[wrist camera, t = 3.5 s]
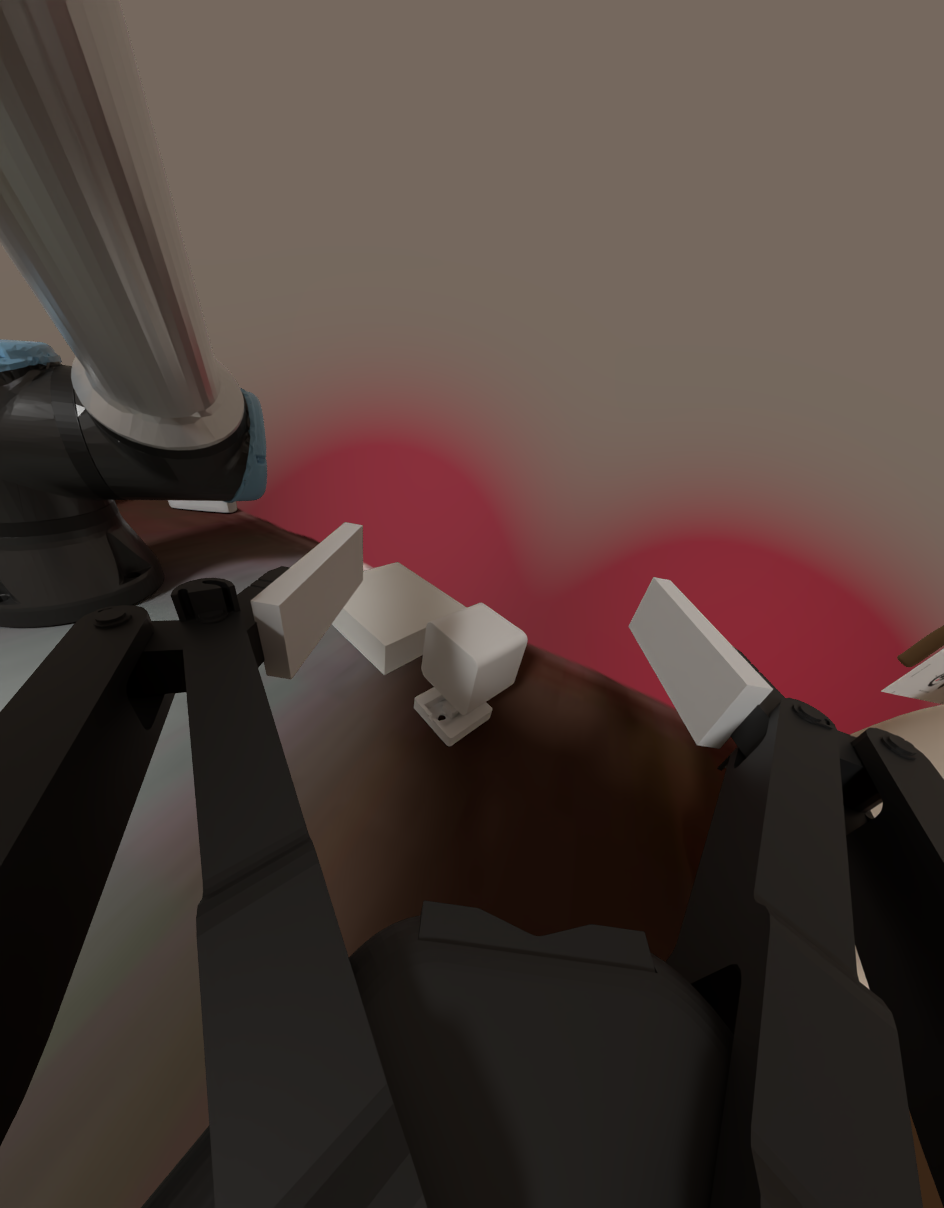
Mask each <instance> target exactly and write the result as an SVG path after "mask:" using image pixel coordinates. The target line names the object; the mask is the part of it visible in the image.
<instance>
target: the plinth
mask: <svg viewBox="0 0 944 1208" xmlns="http://www.w3.org/2000/svg"><path fill="white" fill-rule="evenodd" d="M465 608H467V607H465V606H464V605H462V604H461V603H459V602H458V601H456V600H454V599H453V598H452V597H450V596H449V595H447V594H445V593H444V592H442V591H441V590H439V589H438V588H436V587H435V586H433V585H432V584H430V583H429V582H427V581H425V580H424V579H423V578H421V577H420V576H418V575H417V574H415V573H414V572H412V571H410V570H409V569H408V568H406V567H405V566H403V565H402V564H400V563H399V562H396V563H392V564H389V565H385V566H381V567H377V568H373V569H370V570H366V571H363V581H362V583H361V584H360V585H359V587H358V588H357V590H356V591H355V592H354V594H353V595H352V597H351V598H350V599H349V601H348V602H347V603H346V605H345V606H344V608H343V609H342V610H341V612H340V613H339V614H338V616H337V617H336V619H335V620H334V621H333V623H332V625H333V626H334V627H335V628H336V629H337V630H338V631H339V632H340V633H341V634H342V635H343V636H344V637H345V638H346V639H347V640H348V641H349V642H350V643H352V644H353V645H354V646H355V647H356V648H357V649H358V650H359V651H360V652H361V653H362V654H363V655H364V656H365V657H366V658H367V659H368V660H369V661H370V662H371V663H372V664H373V665H374V666H375V667H376V668H377V669H378V670H379V671H380V672H381V673H382V674H384V675H386V674H388V673H390V672H392V671H393V670H395V669H397V668H399V667H401V666H403V665H405V664H407V663H409V662H410V661H412V660H414V659H416V658H418V657H420V656H422V655H423V650H424V641H425V633H426V625H427V623H428V622H431V621H433V620H436V619H439V618H441V617H444V616H446V615H449V614H452V613H454V612H457V611H460V610H462V609H465Z"/></svg>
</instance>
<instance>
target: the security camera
mask: <svg viewBox="0 0 944 1208" xmlns="http://www.w3.org/2000/svg"><path fill="white" fill-rule="evenodd" d="M527 641H528V640H527V636H526V634H525V633H524V632H523V631H522V630H520V629H519V628H518V627H516V626H515V625H513V624H512V623H510V622H509V621H507V620H506V619H505V618H503V617H502V616H500V615H499V614H497V613H496V612H495V611H493V610H492V609H491V608H489V607H487V606H486V605H485V604H483V603H478V604H476V605H473V606H470V607H468V608H465V609H462V610H460V611H457V612H454V613H452V614H449V615H446V616H444V617H441V618H439V619H436V620H433V621H431V622H428V623H427V625H426V633H425V641H424V650H423V658H422V666H421V670H422V673H423V675H424V677H425V678H426V679H427V680H428V681H429V682H430V683H431V684H432V685H433V686H434V687H433V688H431V689H429V690H428V691H426V692H424V693H422V694H420V695H418V696H416V697H415V701H414V709H415V710H416V711H417V712H418V713H419V715H420V716H421V717H422V718H423V719H424V720H425V721H426V722H427V724H428V725H429V726H430V727H431V728H432V729H433V730H434V732H435V733H436V734H437V735H438V736H439V737H440V738H441V740H442V741H443V742H444V743H445V744H446V745H447V746H452V745H453V744H455V743H456V742H457V741H459V740H460V739H462V738H463V737H464V736H466V735H467V734H469V733H470V732H471V731H473V730H474V729H476V728H477V727H478V726H480V725H481V724H483V723H484V722H486V721H487V720H488V719H490V716H491V712H492V707H491V706H490V705H489V704H487V703H486V701H488V700H489V699H491V698H492V697H494V696H496V695H497V694H499V693H500V692H502V691H503V690H505V689H506V688H508V687H509V686H511V685H512V684H513V683H514V681H515V678H516V675H517V672H518V669H519V666H520V663H521V660H522V657H523V654H524V651H525V648H526V645H527ZM440 715H443V716H445V717H446V719H445V720H440V721H439V720H438V717H439V716H440Z"/></svg>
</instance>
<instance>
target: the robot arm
mask: <svg viewBox="0 0 944 1208" xmlns="http://www.w3.org/2000/svg"><path fill="white" fill-rule="evenodd" d="M0 244H1V245H2V247H3V248H4V250H5V251H6V253H7V254H8V256H9V257H10V259H11V260H12V262H13V263H14V265H15V266H16V268H17V269H18V271H19V272H20V273H21V275H22V277H23V278H24V279H25V281H26V283H27V284H28V286H29V287H30V289H31V290H32V292H33V293H34V295H35V296H36V297H37V299H38V300H39V302H40V303H41V305H42V306H43V308H44V309H45V311H46V312H47V314H48V315H49V317H50V318H51V320H52V321H53V322H54V324H55V326H56V327H57V329H58V330H59V332H60V333H61V335H62V336H63V338H64V339H65V341H66V342H67V344H68V345H69V346H70V348H71V349H72V351H73V352H74V354H75V355H76V357H75V359H74V361H73V365H72V366H66V365H62V364H61V362H62V361H61V358H60V356H58V355H57V354H56V353H55V352H54V350H53V348H52V347H51V346H49V345H47V344H45V343H41V342H29V341H16V340H0V627H17V628H23V627H42V626H52V625H60V624H66V623H72V622H76V623H75V624H74V625H73V626H72V628H71V629H70V630H69V631H68V632H67V633H66V635H65V636H64V637H63V638H62V639H61V641H60V642H59V643H58V644H57V645H56V647H55V648H54V649H53V650H52V651H51V652H50V654H49V655H48V656H47V657H46V658H45V660H44V661H43V662H42V663H41V664H40V666H39V667H38V668H37V669H36V670H35V671H34V673H33V674H32V675H31V676H30V677H29V679H28V680H27V681H26V682H25V683H24V685H23V686H22V687H21V688H20V689H19V690H18V692H17V693H16V694H15V695H14V696H13V698H12V699H11V700H10V701H9V702H8V704H7V705H6V706H5V707H4V708H3V709H2V711H1V712H0V1146H1V1144H2V1142H3V1140H4V1138H5V1135H6V1133H7V1131H8V1129H9V1127H10V1125H11V1123H12V1121H13V1119H14V1117H15V1115H16V1113H17V1111H18V1109H19V1107H20V1105H21V1103H22V1101H23V1099H24V1097H25V1094H26V1092H27V1089H28V1087H29V1085H30V1082H31V1080H32V1077H33V1075H34V1072H35V1070H36V1068H37V1065H38V1063H39V1060H40V1058H41V1055H42V1053H43V1051H44V1048H45V1046H46V1043H47V1041H48V1038H49V1036H50V1033H51V1030H52V1028H53V1025H54V1022H55V1019H56V1017H57V1014H58V1011H59V1009H60V1006H61V1003H62V1000H63V998H64V995H65V992H66V989H67V987H68V984H69V981H70V979H71V976H72V973H73V970H74V968H75V965H76V962H77V959H78V957H79V954H80V951H81V949H82V946H83V943H84V940H85V938H86V935H87V932H88V930H89V927H90V924H91V921H92V919H93V916H94V913H95V910H96V908H97V905H98V902H99V900H100V897H101V894H102V891H103V889H104V886H105V883H106V881H107V878H108V875H109V872H110V870H111V867H112V864H113V861H114V859H115V856H116V853H117V851H118V848H119V845H120V842H121V840H122V837H123V834H124V831H125V829H126V826H127V823H128V821H129V818H130V815H131V812H132V810H133V807H134V804H135V802H136V799H137V796H138V793H139V791H140V788H141V785H142V782H143V780H144V777H145V774H146V772H147V769H148V766H149V763H150V761H151V758H152V755H153V753H154V750H155V747H156V744H157V742H158V739H159V736H160V733H161V731H162V728H163V725H164V723H165V720H166V717H167V714H168V712H169V709H170V706H171V704H172V701H173V698H174V695H175V693H181V692H187V704H188V715H189V727H190V739H191V750H192V762H193V774H194V785H195V797H196V808H197V820H198V832H199V843H200V855H201V866H202V878H203V898H202V900H201V901H200V903H199V905H198V908H197V917H196V927H197V948H198V963H199V978H200V992H201V1007H202V1022H203V1036H204V1051H205V1066H206V1080H207V1095H208V1110H209V1124H210V1125H209V1126H208V1128H207V1129H206V1130H205V1131H204V1132H203V1134H202V1135H201V1136H200V1137H199V1138H198V1140H197V1141H196V1142H195V1143H194V1145H193V1146H192V1147H191V1148H190V1149H189V1151H188V1152H187V1153H186V1154H185V1155H184V1157H183V1158H182V1159H181V1160H180V1161H179V1163H178V1164H177V1165H176V1166H175V1167H174V1169H173V1170H172V1171H171V1172H170V1173H169V1175H168V1176H167V1177H166V1178H165V1179H164V1181H163V1182H162V1183H161V1184H160V1185H159V1187H158V1188H157V1189H156V1190H155V1191H154V1193H153V1194H152V1195H151V1196H150V1197H149V1199H148V1200H147V1201H146V1202H145V1204H144V1205H143V1206H142V1207H141V1208H923V1205H922V1198H921V1191H920V1184H919V1177H918V1170H917V1163H916V1156H915V1149H914V1142H913V1135H912V1129H911V1122H910V1115H909V1110H910V1113H911V1116H912V1119H913V1122H914V1125H915V1128H916V1131H917V1135H918V1138H919V1141H920V1144H921V1147H922V1149H923V1152H924V1155H925V1158H926V1160H927V1163H928V1166H929V1169H930V1171H931V1174H932V1177H933V1180H934V1182H935V1185H936V1188H937V1191H938V1193H939V1196H940V1199H941V1201H942V1204H943V1207H944V779H943V778H942V776H941V775H940V774H939V772H938V771H937V770H936V768H935V767H934V766H933V764H932V763H931V761H930V760H929V759H928V758H927V757H926V756H925V755H924V754H923V753H922V752H920V751H919V750H918V749H917V748H915V747H914V745H913V744H911V743H910V742H908V741H907V740H906V741H905V739H903V738H901V737H900V736H898V735H894V734H892V733H889V732H887V731H884V730H881V729H878V728H868V729H867V730H865V731H864V732H863V733H862V734H860V735H859V736H858V737H854V736H851V735H849V734H846V733H843V732H840V731H838V730H837V729H836V727H835V725H834V724H833V723H832V721H831V720H830V719H829V718H828V717H826V716H825V715H824V714H823V713H821V712H820V711H819V710H817V709H815V708H814V707H812V706H810V705H808V704H806V703H804V702H801V701H799V700H796V699H792V698H785V697H784V696H783V695H782V694H781V693H780V692H779V691H778V690H777V689H776V688H775V687H774V686H773V685H772V684H771V683H770V682H769V681H768V680H767V679H766V677H764V676H763V674H762V673H760V672H759V670H758V669H757V668H756V667H755V666H754V665H753V664H751V662H750V661H749V660H748V659H747V658H746V657H745V656H744V655H743V653H742V652H740V651H739V650H737V649H736V648H735V647H733V646H732V645H731V644H730V643H729V642H728V641H727V640H726V639H725V638H724V637H723V636H722V635H721V634H720V633H719V631H718V630H717V629H716V628H715V627H714V626H713V625H712V624H711V623H710V622H709V621H708V620H707V619H706V618H705V617H704V616H703V615H702V614H701V612H700V611H698V609H697V608H696V607H695V606H694V605H693V604H692V603H691V602H690V601H689V600H688V599H687V598H686V597H685V596H684V594H683V593H682V592H681V591H680V590H679V589H678V588H677V587H676V586H675V585H674V584H673V583H672V582H671V581H670V580H666V579H660V578H655V577H654V578H653V579H652V581H651V583H650V585H649V587H648V589H647V592H646V593H645V595H644V597H643V599H642V601H641V603H640V605H639V607H638V609H637V611H636V613H635V615H634V617H633V619H632V621H631V623H630V625H629V628H630V630H631V631H632V633H633V634H634V637H635V638H636V640H637V642H638V644H639V645H640V647H641V649H642V651H643V652H644V654H645V656H646V657H647V659H648V661H649V663H650V664H651V666H652V668H653V670H654V671H655V673H656V675H657V677H658V678H659V680H660V682H661V683H662V685H663V687H664V689H665V690H666V692H667V694H668V696H669V697H670V699H671V701H672V703H673V704H674V706H675V708H676V710H677V711H678V713H679V715H680V716H681V718H682V720H683V722H684V723H685V725H686V727H687V729H688V730H689V732H690V734H691V736H692V737H693V739H694V741H695V743H696V744H697V745H700V746H706V747H712V748H718V749H720V748H721V747H722V746H723V744H724V743H725V742H726V741H727V740H728V739H729V738H730V737H732V739H733V740H734V741H735V743H736V744H737V746H738V747H737V748H736V749H735V750H734V751H733V752H732V753H731V754H730V755H729V756H728V758H727V759H726V760H725V761H724V762H723V763H722V764H721V765H720V766H719V767H718V769H719V770H721V771H722V770H723V769H724V768H727V769H726V773H725V776H724V780H723V783H722V787H721V790H720V794H719V797H718V801H717V804H716V808H715V811H714V815H713V818H712V822H711V825H710V829H709V832H708V836H707V839H706V843H705V846H704V850H703V853H702V857H701V860H700V864H699V867H698V871H697V874H696V878H695V881H694V885H693V888H692V892H691V895H690V899H689V902H688V906H687V909H686V913H685V916H684V920H683V924H682V927H681V931H680V934H679V938H678V941H677V944H676V946H675V948H674V950H673V952H672V954H671V955H670V957H669V958H668V960H667V961H666V962H664V961H663V960H661V959H660V958H658V957H657V956H655V955H654V954H652V953H650V950H649V946H648V943H647V939H646V936H645V932H643V931H636V930H628V929H621V928H614V927H607V926H600V925H593V924H590V925H586V926H582V927H578V928H574V929H570V930H565V931H561V932H557V933H553V934H549V935H545V936H534V935H531V934H529V933H527V932H525V931H523V930H521V929H519V928H517V927H515V926H513V925H511V924H509V923H507V922H505V921H503V920H501V919H499V918H497V917H495V916H493V915H491V914H489V913H487V912H485V911H483V910H481V909H479V908H473V907H466V906H459V905H452V904H445V903H438V902H431V901H424V902H423V906H422V911H421V915H420V916H416V917H411V918H407V919H404V920H402V921H399V922H397V923H394V924H392V925H390V926H388V927H387V928H385V929H383V930H381V931H380V932H378V933H377V934H375V935H374V936H373V937H372V938H370V939H369V940H368V941H366V942H365V943H364V944H363V945H362V946H361V947H360V948H359V949H357V950H356V951H355V952H354V953H353V954H352V955H351V956H350V957H349V958H348V954H347V951H346V948H345V945H344V941H343V938H342V935H341V932H340V928H339V925H338V922H337V919H336V916H335V912H334V909H333V906H332V903H331V899H330V896H329V893H328V890H327V886H326V883H325V880H324V877H323V873H322V870H321V867H320V864H319V860H318V857H317V854H316V851H315V848H314V845H313V842H312V840H311V838H310V836H309V834H308V831H307V827H306V824H305V821H304V818H303V814H302V811H301V808H300V805H299V801H298V798H297V795H296V791H295V788H294V785H293V782H292V778H291V775H290V772H289V768H288V765H287V762H286V759H285V755H284V752H283V749H282V745H281V742H280V739H279V735H278V732H277V729H276V726H275V722H274V719H273V716H272V712H271V709H270V706H269V703H268V699H267V696H266V693H265V689H264V686H263V683H262V680H261V676H260V673H259V670H258V667H259V666H260V665H261V664H262V663H263V662H264V665H265V670H266V674H267V676H274V677H280V678H286V679H292V678H293V677H294V675H295V674H296V672H297V671H298V670H299V668H300V667H301V666H302V664H303V663H304V661H305V660H306V659H307V657H308V656H309V654H310V653H311V652H312V650H313V649H314V648H315V646H316V645H317V643H318V642H319V641H320V639H321V638H322V637H323V635H324V634H325V632H326V631H327V630H328V628H329V627H330V625H331V624H332V623H333V621H334V620H335V619H336V617H337V616H338V614H339V613H340V612H341V610H342V609H343V608H344V606H345V605H346V603H347V602H348V601H349V599H350V598H351V597H352V595H353V594H354V592H355V591H356V590H357V588H358V587H359V585H360V584H361V583H362V581H363V526H362V525H358V524H352V523H346V522H345V523H344V524H342V525H341V526H340V527H339V528H338V529H336V530H335V531H334V532H333V533H331V534H330V535H329V536H328V537H327V538H325V539H324V540H323V541H322V542H321V543H319V544H318V545H317V546H316V547H315V548H313V549H312V550H311V551H310V552H309V553H307V554H306V555H305V556H304V557H303V558H301V559H300V560H299V561H298V562H297V563H295V564H294V565H293V566H292V567H291V568H289V567H283V566H281V567H279V568H276V569H273V570H271V571H268V572H267V573H265V574H264V575H263V576H261V577H260V578H259V579H258V580H256V581H255V582H254V583H252V584H251V586H248V587H247V588H246V589H244V590H243V591H242V592H240V593H239V594H238V595H237V594H236V590H235V586H234V585H233V584H232V582H230V581H228V580H225V579H219V578H203V579H197V580H193V581H189V582H186V583H184V584H181V585H179V586H178V587H176V588H175V589H174V590H173V591H172V593H171V598H172V600H173V603H174V606H175V609H176V611H177V614H178V617H179V620H174V621H151V619H150V617H149V614H148V612H147V611H146V610H145V609H144V608H142V607H139V606H135V605H133V604H135V603H137V602H139V601H141V600H143V599H144V598H146V597H148V596H149V595H151V594H152V593H153V592H155V591H156V590H157V589H158V588H159V587H160V585H161V584H162V582H163V580H164V573H163V571H162V568H161V565H160V562H159V560H158V558H157V557H156V555H155V554H154V553H153V552H152V550H151V549H150V548H149V547H148V546H147V545H146V544H145V543H144V542H143V540H142V539H141V538H140V537H139V536H138V535H137V534H136V533H135V531H134V530H133V529H132V528H131V527H130V526H129V525H128V524H127V522H126V521H125V520H124V519H123V518H122V516H121V515H120V512H119V510H118V508H117V505H116V503H115V500H186V501H223V502H226V503H233V502H235V501H251V500H257V499H259V498H260V497H262V495H263V494H264V492H265V489H266V483H267V463H266V459H265V458H266V439H265V429H264V421H263V414H262V409H261V405H260V402H259V400H258V398H257V397H256V396H255V395H254V394H252V393H250V392H246V391H245V390H244V389H242V388H240V387H239V385H238V383H237V381H236V379H235V378H234V376H233V375H232V373H231V372H230V371H229V370H228V369H227V368H226V367H225V366H224V365H223V364H222V363H221V362H220V361H219V360H218V359H216V358H215V357H214V355H213V351H212V347H211V343H210V339H209V335H208V332H207V328H206V324H205V320H204V316H203V313H202V309H201V305H200V301H199V297H198V294H197V290H196V286H195V283H194V279H193V275H192V271H191V267H190V263H189V260H188V256H187V252H186V248H185V245H184V241H183V237H182V233H181V229H180V226H179V222H178V218H177V214H176V210H175V207H174V203H173V199H172V195H171V191H170V188H169V184H168V181H167V176H166V173H165V169H164V165H163V161H162V158H161V154H160V150H159V146H158V142H157V139H156V135H155V131H154V127H153V124H152V120H151V116H150V112H149V108H148V104H147V101H146V97H145V93H144V90H143V86H142V82H141V78H140V74H139V71H138V67H137V63H136V59H135V55H134V52H133V48H132V44H131V40H130V36H129V33H128V29H127V25H126V21H125V17H124V14H123V10H122V6H121V3H120V0H0ZM882 802H883V805H882V809H881V812H880V813H879V814H878V815H877V816H876V817H875V818H874V816H873V814H872V812H871V810H872V809H873V808H875V807H876V806H878V805H879V804H881V803H882ZM855 946H856V949H857V952H858V955H859V959H860V962H861V965H862V968H863V971H864V974H865V977H866V980H867V983H868V986H869V989H870V990H869V989H868V988H867V987H866V986H864V985H863V984H862V983H861V982H859V978H858V974H857V964H856V952H855ZM908 1107H909V1108H908Z"/></svg>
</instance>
